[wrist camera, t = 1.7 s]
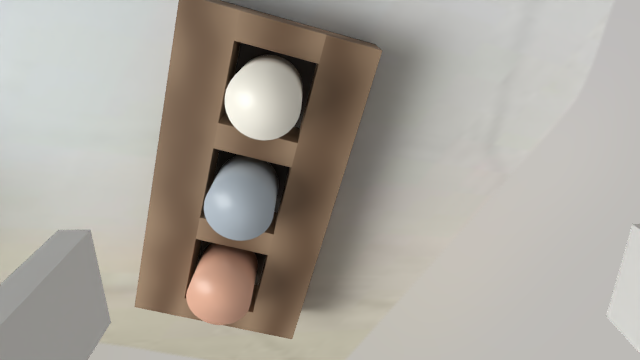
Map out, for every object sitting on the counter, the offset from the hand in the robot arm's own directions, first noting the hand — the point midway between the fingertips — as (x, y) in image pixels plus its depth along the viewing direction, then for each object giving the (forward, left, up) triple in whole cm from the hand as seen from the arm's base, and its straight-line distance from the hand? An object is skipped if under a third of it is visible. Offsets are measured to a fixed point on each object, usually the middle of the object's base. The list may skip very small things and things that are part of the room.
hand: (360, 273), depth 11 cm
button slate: (-4, -9, -25) cm, 27 cm away
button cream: (-4, -1, -25) cm, 25 cm away
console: (-4, -9, -27) cm, 29 cm away
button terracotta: (-4, -17, -25) cm, 31 cm away
